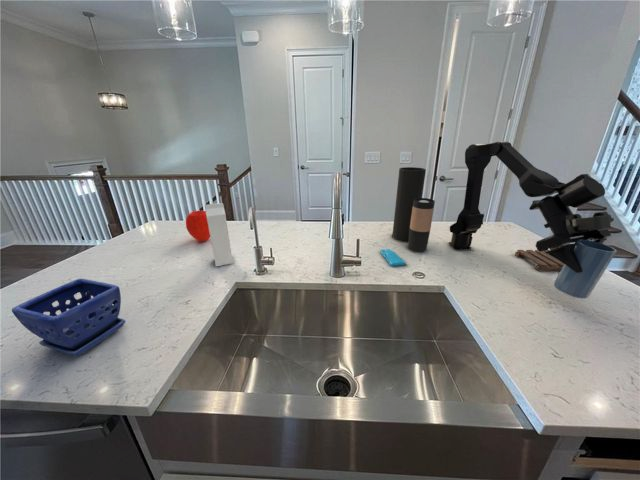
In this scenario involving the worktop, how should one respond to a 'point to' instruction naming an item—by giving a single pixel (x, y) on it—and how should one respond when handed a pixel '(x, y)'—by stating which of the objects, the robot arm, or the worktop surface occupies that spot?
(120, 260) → the worktop surface
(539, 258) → the drying rack
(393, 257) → the sponge
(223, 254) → the milk
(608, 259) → the tumbler
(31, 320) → the flower pot
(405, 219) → the vase
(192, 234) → the apple
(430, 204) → the travel mug
